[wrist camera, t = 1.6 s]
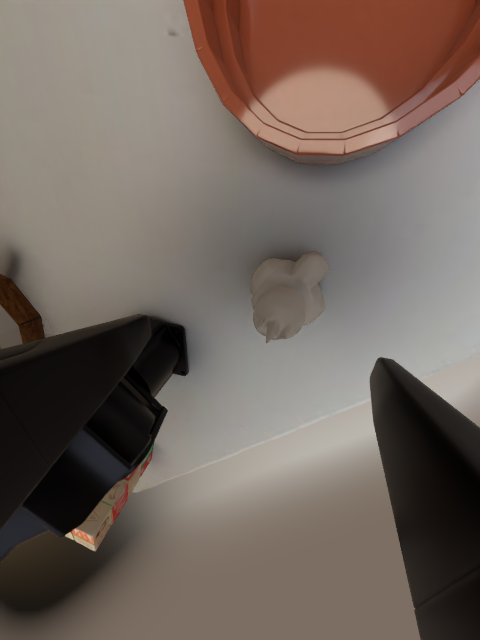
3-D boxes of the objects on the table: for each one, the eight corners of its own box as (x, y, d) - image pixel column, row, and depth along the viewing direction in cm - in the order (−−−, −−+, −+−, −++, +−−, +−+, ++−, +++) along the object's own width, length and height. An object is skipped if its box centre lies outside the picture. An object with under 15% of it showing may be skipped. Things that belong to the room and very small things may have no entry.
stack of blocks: (46, 408, 42) (-43, 479, 32) (40, 385, 39) (-62, 457, 28) (151, 460, 40) (94, 554, 30) (155, 441, 37) (91, 540, 26)
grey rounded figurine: (242, 289, 20) (204, 339, 13) (292, 221, 16) (275, 244, 10) (291, 327, 20) (278, 394, 14) (351, 269, 17) (374, 322, 10)
